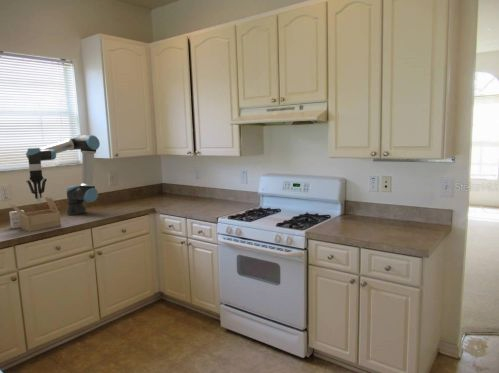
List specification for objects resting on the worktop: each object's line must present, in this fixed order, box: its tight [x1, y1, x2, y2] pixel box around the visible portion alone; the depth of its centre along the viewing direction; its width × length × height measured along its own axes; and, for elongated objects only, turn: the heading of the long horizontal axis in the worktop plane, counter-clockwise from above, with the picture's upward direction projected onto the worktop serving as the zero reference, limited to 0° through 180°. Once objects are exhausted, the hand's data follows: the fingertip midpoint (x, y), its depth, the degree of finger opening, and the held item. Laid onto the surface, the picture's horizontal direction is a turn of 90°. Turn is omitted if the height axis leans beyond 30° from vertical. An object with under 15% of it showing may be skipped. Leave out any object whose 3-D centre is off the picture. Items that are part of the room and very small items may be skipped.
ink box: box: [8, 209, 26, 230], centre depth 275 cm, size 9×5×12 cm, turn 141°
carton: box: [19, 208, 62, 233], centre depth 273 cm, size 21×17×10 cm
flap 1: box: [8, 203, 27, 216], centre depth 261 cm, size 1×13×10 cm
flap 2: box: [43, 195, 59, 211], centre depth 278 cm, size 1×13×10 cm, turn 48°
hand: (39, 202), depth 271 cm, fingers closed
